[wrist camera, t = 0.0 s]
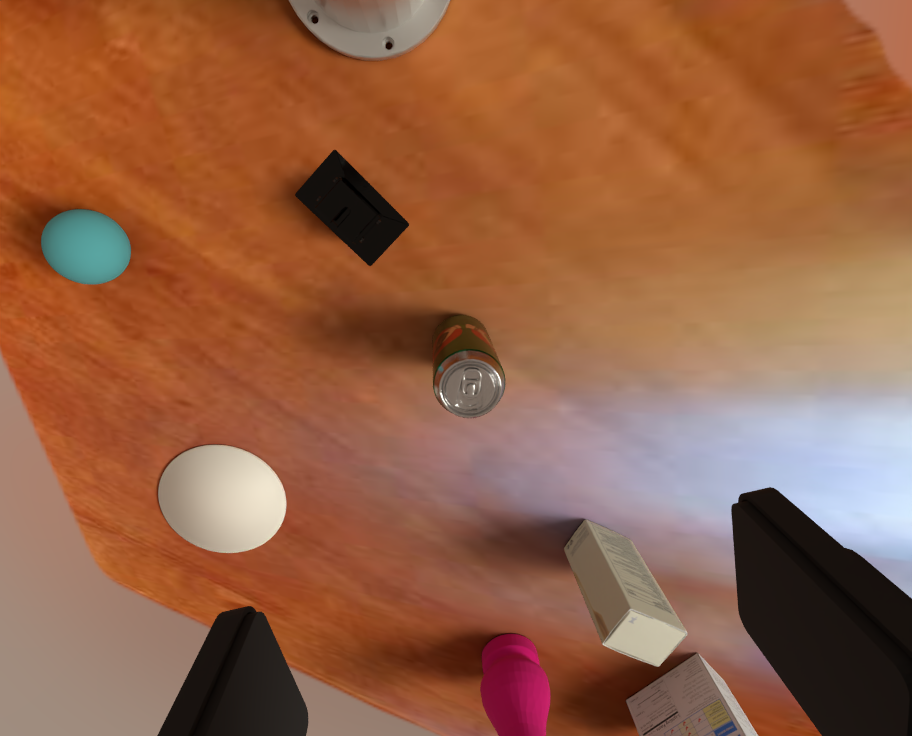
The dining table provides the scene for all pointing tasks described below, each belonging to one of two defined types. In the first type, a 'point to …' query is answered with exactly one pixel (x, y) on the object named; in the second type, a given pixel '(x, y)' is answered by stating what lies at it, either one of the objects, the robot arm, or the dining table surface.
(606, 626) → the skincare box
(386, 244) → the black box
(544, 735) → the pepper mill
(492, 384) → the soda can
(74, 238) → the ball
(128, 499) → the dining table surface
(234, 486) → the white rounded object
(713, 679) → the light bulb box
